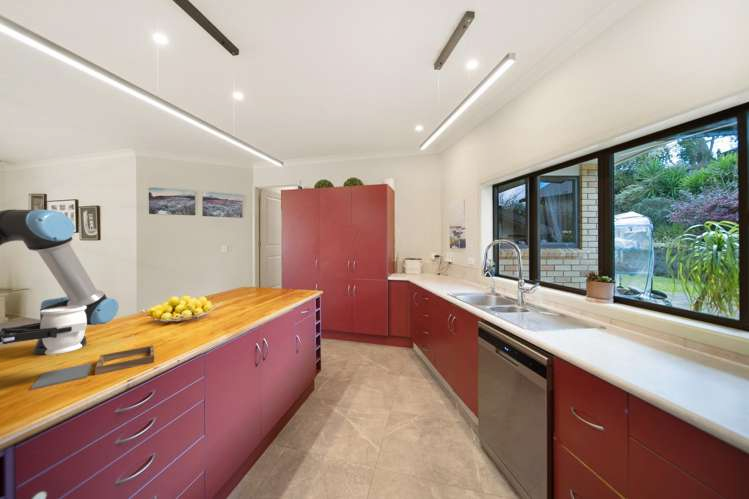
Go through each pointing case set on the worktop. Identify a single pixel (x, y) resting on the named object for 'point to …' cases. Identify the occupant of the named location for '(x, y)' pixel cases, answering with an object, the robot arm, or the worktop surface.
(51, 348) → the jar
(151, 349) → the brown rectangular frame
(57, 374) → the mat
